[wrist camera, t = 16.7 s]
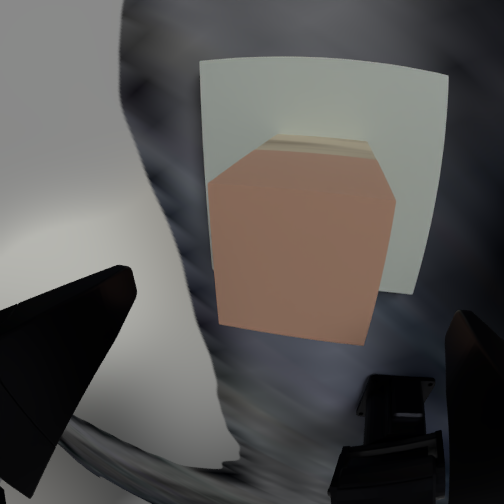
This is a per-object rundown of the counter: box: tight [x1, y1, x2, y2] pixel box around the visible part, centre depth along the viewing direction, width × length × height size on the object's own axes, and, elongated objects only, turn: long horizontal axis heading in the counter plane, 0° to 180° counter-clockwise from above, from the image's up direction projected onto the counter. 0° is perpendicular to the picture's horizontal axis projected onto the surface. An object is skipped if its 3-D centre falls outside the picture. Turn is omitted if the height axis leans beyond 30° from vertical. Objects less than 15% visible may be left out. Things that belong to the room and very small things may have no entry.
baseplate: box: [200, 57, 448, 294], centre depth 18 cm, size 14×14×2 cm
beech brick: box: [255, 134, 376, 160], centre depth 16 cm, size 5×5×5 cm
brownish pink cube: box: [208, 150, 396, 346], centre depth 11 cm, size 5×5×5 cm
